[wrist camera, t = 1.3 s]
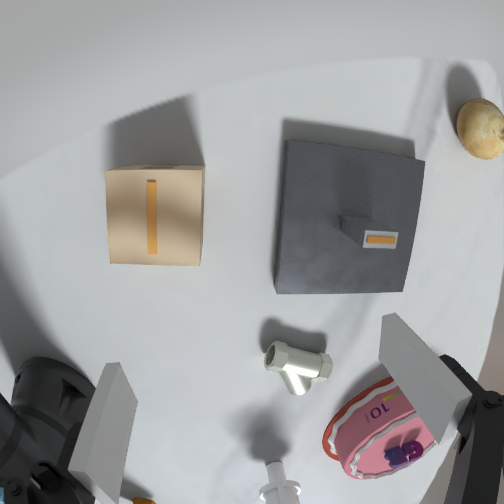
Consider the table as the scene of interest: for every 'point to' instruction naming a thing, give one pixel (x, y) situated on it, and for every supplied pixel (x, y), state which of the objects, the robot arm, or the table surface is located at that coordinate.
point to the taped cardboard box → (155, 214)
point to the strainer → (279, 487)
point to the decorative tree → (142, 501)
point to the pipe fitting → (297, 366)
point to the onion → (481, 128)
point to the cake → (377, 433)
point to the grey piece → (346, 220)
